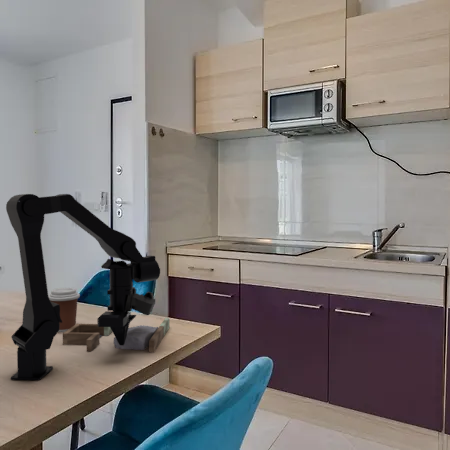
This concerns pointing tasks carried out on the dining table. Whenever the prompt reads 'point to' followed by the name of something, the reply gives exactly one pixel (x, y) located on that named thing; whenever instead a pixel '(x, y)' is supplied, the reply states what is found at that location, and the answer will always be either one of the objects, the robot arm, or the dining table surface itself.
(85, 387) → the dining table surface
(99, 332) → the channel
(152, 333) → the stone block
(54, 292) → the coffee cup
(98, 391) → the dining table surface
